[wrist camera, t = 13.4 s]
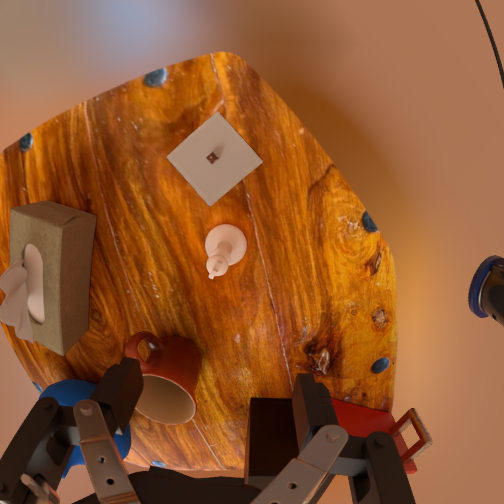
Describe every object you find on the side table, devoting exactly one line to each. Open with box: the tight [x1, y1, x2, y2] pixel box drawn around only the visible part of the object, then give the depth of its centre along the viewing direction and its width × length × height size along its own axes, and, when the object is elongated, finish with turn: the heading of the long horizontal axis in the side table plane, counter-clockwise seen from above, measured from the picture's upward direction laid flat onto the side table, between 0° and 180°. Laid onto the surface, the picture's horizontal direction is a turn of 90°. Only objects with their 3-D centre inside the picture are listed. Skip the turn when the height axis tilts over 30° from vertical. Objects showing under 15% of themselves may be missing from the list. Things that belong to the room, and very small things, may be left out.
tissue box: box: [0, 200, 97, 356], centre depth 27 cm, size 19×10×16 cm, turn 163°
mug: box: [125, 331, 202, 425], centre depth 32 cm, size 12×9×10 cm
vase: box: [39, 379, 131, 478], centre depth 33 cm, size 18×18×19 cm
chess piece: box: [205, 224, 247, 279], centre depth 29 cm, size 5×5×10 cm
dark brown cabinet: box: [244, 397, 336, 504], centre depth 35 cm, size 11×16×15 cm
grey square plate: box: [167, 112, 263, 207], centre depth 30 cm, size 8×8×2 cm
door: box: [331, 398, 433, 474], centre depth 33 cm, size 7×16×15 cm, turn 63°
